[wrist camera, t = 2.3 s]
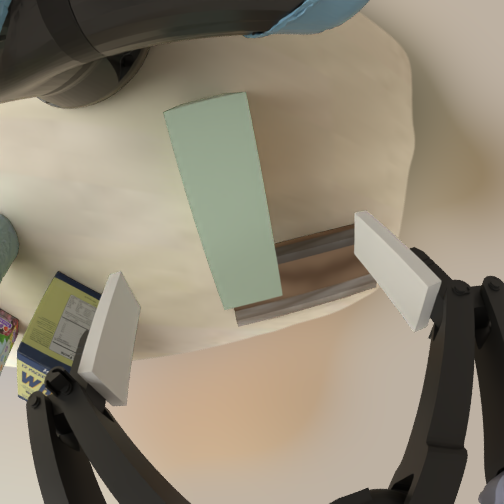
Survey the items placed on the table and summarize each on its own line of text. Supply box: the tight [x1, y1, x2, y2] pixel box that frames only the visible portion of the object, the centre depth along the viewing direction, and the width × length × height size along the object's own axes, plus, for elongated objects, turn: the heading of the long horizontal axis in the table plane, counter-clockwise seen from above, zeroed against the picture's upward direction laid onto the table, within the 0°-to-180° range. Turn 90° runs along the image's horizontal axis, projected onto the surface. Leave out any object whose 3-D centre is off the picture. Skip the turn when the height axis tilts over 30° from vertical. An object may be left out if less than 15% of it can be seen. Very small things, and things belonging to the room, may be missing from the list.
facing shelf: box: [234, 224, 377, 326], centre depth 39 cm, size 11×22×3 cm, turn 101°
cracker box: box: [163, 92, 283, 310], centre depth 25 cm, size 16×5×14 cm, turn 11°
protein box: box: [17, 272, 102, 401], centre depth 32 cm, size 10×16×16 cm
